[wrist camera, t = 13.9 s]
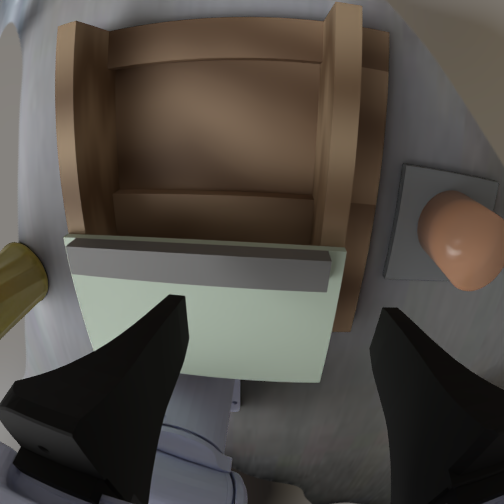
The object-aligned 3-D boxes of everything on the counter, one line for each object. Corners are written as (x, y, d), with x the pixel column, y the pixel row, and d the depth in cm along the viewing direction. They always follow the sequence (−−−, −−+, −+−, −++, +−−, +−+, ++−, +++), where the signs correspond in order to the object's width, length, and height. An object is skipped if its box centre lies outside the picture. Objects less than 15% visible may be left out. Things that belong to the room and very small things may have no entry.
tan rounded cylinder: (467, 257, 20) (498, 288, 16) (411, 258, 21) (437, 292, 17) (481, 193, 18) (518, 215, 14) (422, 187, 18) (455, 210, 14)
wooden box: (346, 319, 24) (359, 368, 19) (97, 301, 25) (68, 340, 20) (381, 36, 15) (414, 18, 10) (72, 46, 16) (23, 39, 11)
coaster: (469, 277, 22) (472, 281, 21) (382, 274, 22) (385, 279, 21) (494, 180, 18) (499, 182, 18) (402, 163, 19) (406, 165, 18)
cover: (318, 377, 19) (321, 395, 18) (99, 354, 20) (90, 370, 19) (344, 247, 15) (351, 262, 14) (67, 233, 16) (52, 245, 15)
